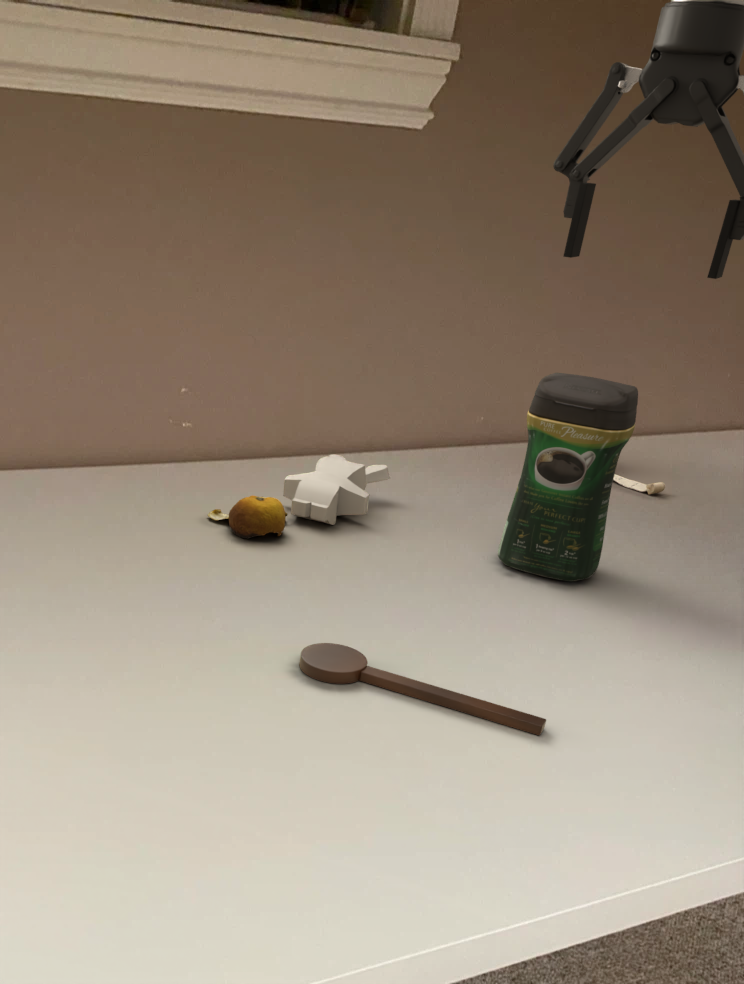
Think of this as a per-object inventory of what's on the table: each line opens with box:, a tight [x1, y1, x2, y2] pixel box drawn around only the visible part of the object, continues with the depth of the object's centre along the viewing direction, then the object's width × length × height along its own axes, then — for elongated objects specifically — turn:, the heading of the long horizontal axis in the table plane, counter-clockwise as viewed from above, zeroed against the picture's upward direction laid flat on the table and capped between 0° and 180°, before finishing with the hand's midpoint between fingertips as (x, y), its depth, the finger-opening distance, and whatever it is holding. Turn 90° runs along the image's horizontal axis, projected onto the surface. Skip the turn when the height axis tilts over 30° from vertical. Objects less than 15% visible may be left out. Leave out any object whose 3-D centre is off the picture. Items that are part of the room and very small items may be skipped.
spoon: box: [298, 642, 547, 736], centre depth 83 cm, size 19×5×1 cm, turn 61°
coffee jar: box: [497, 372, 639, 582], centre depth 106 cm, size 10×8×19 cm
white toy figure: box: [282, 453, 391, 526], centre depth 120 cm, size 10×5×15 cm
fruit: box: [207, 495, 288, 540], centre depth 112 cm, size 8×8×4 cm
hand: (640, 267), depth 105 cm, fingers open, 13 cm apart
